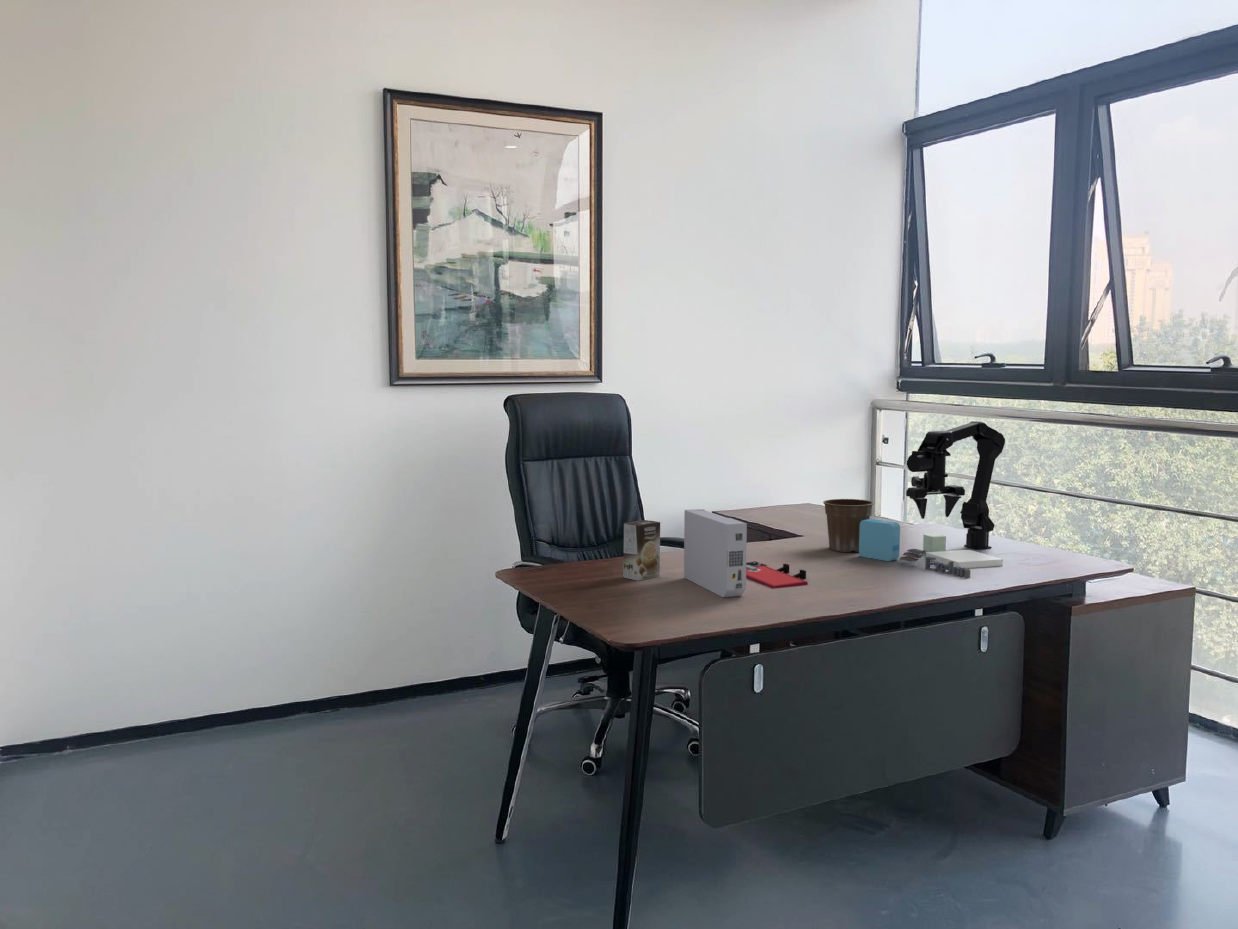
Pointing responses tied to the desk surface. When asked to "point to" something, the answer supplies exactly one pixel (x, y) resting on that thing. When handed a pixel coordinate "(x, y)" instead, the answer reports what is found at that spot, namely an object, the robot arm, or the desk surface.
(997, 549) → the desk surface
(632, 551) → the coffee box
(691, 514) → the game console
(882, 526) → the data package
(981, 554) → the base plate
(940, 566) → the extruded letter logo
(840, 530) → the plant pot
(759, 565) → the red board with handle
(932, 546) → the sage block
